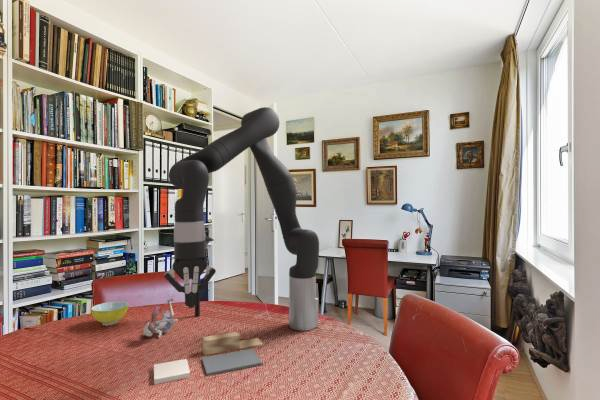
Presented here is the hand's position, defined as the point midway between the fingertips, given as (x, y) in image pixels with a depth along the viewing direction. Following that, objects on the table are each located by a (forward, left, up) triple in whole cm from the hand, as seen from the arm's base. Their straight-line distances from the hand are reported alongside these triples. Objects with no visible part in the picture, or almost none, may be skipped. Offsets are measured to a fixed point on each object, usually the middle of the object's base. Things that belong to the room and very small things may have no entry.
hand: (190, 307), depth 85 cm
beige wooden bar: (-13, -8, -16) cm, 22 cm away
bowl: (+23, -45, -16) cm, 53 cm away
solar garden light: (-6, -41, -16) cm, 45 cm away
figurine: (+6, -28, -16) cm, 33 cm away
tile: (+1, 0, -16) cm, 16 cm away
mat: (-10, 0, -16) cm, 19 cm away
